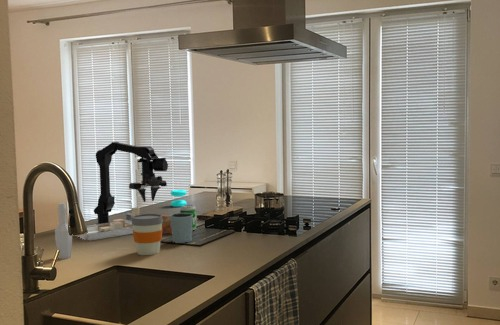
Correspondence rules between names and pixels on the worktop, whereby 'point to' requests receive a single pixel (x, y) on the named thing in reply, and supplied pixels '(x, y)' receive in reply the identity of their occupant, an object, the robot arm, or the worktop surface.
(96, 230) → the box
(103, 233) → the rails
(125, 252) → the worktop surface
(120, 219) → the salmon pink block
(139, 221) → the reusable coffee cup
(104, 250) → the worktop surface
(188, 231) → the blue-grey cup
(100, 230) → the board
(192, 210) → the soda can
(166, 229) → the tin
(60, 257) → the faceted bottle
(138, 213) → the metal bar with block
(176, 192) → the pair of cyan domes
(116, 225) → the beige block
